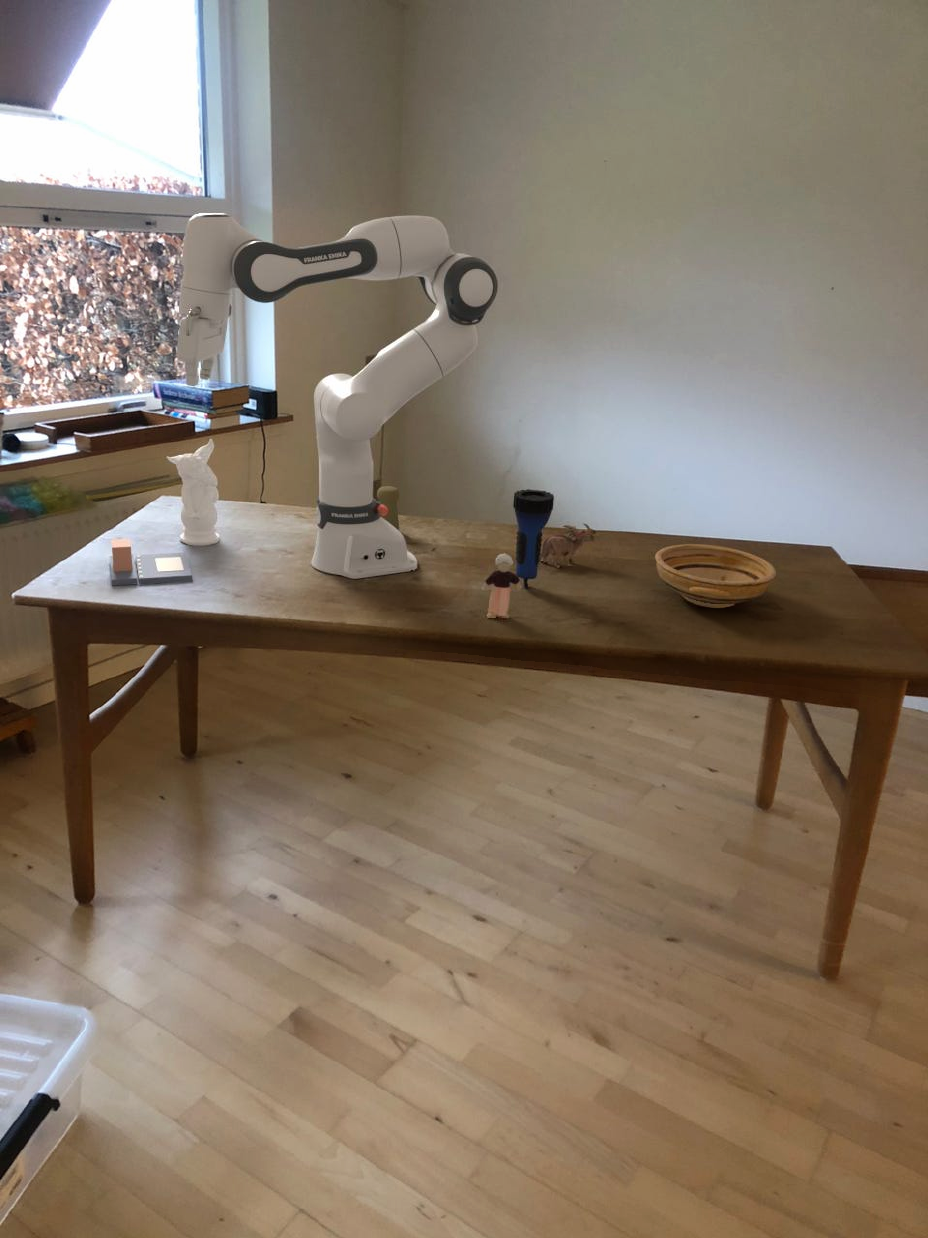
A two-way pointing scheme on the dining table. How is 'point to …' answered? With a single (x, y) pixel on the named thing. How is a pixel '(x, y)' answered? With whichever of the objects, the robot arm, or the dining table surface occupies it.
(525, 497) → the flashlight
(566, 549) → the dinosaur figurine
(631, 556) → the dining table surface
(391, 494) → the cork
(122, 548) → the stub
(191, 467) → the white tall statuette
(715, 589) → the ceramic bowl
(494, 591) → the grandmother figurine
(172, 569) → the grey notebook
